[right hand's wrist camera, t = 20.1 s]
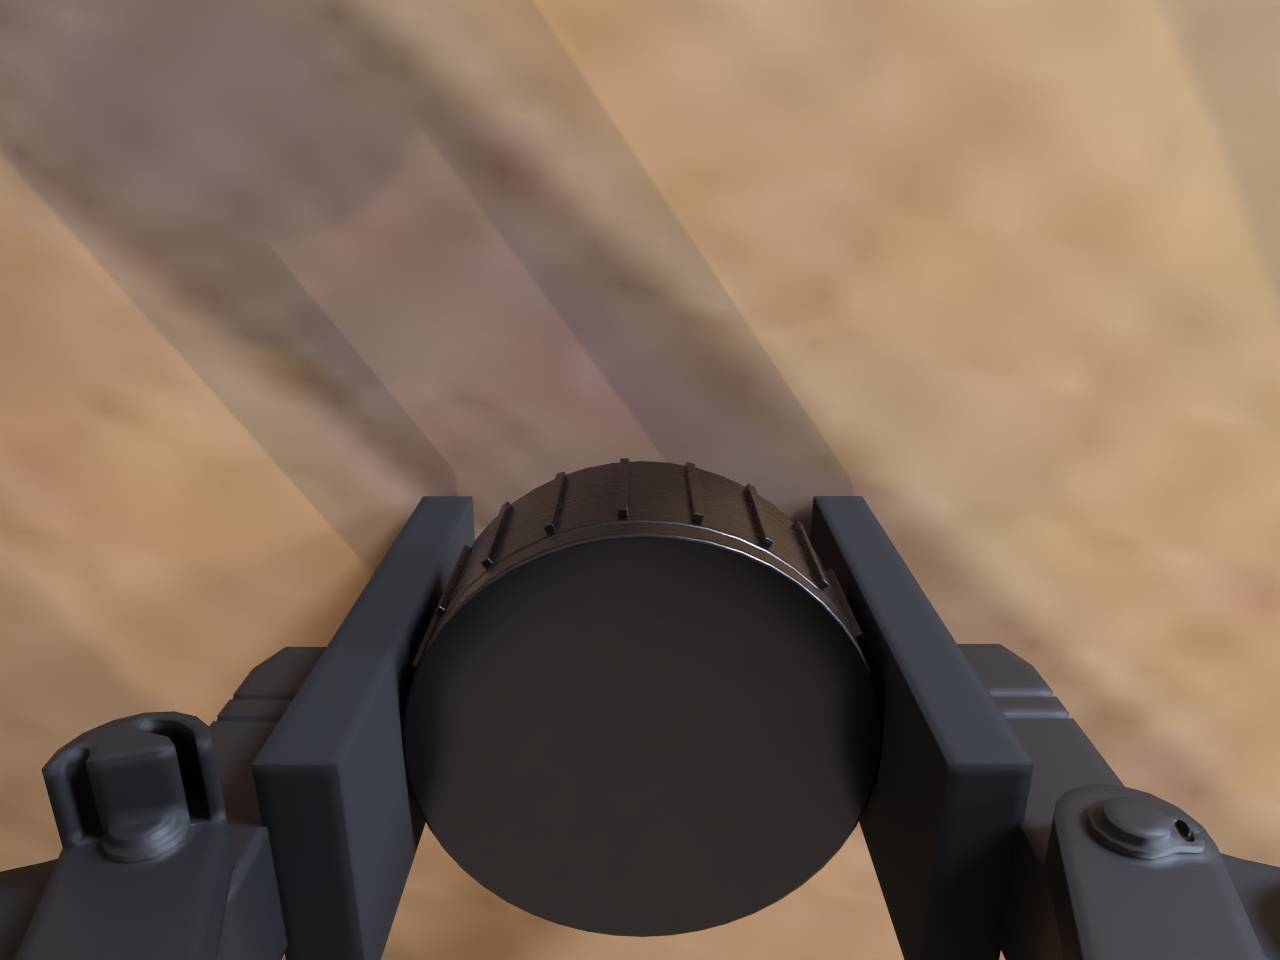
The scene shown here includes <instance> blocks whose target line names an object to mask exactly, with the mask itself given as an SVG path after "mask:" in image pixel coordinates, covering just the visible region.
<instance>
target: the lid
mask: <svg viewBox="0 0 1280 960" xmlns="http://www.w3.org/2000/svg"><path fill="white" fill-rule="evenodd" d="M864 640H865V639H864V637H863V634H862V632H861V630H860V628H859V626H858V624H857V621H856V619H855V617H854V615H853V613H852V611H851V608H850V606H849V604H848V602H847V600H846V598H845V595H844V593H843V591H842V589H841V587H840V585H839V583H838V580H837V578H836V576H835V574H834V572H833V570H832V568H831V569H829V570H825V568H824V566H823V564H822V562H821V560H820V558H819V556H818V555H817V553H816V552H815V550H814V549H813V547H812V545H811V543H810V541H809V538H808V536H807V534H806V532H805V529H804V527H803V525H802V524H801V523H800V522H799V521H797V522H795V523H793V522H792V521H791V520H790V519H789V518H788V517H787V516H785V515H784V514H783V513H782V512H781V511H780V510H778V509H777V508H776V507H775V506H774V505H772V504H771V503H770V502H769V501H767V500H766V499H764V498H762V497H761V496H759V495H758V494H757V492H756V489H755V487H753V486H751V485H750V484H747V486H746V487H744V486H742V485H740V484H738V483H736V482H734V481H732V480H729V479H727V478H725V477H723V476H720V475H717V474H714V473H711V472H708V471H704V470H701V469H698V468H695V464H692V463H688V462H687V463H686V466H683V465H678V464H672V463H662V462H645V461H638V462H629V459H628V458H626V459H620V463H611V464H606V465H601V466H596V467H591V468H586V469H582V470H579V471H576V472H573V473H570V474H567V475H566V474H565V472H561V473H558V474H556V478H555V479H554V480H552V481H550V482H548V483H546V484H544V485H542V486H540V487H537V488H535V489H534V490H532V491H531V492H529V493H528V494H526V495H524V496H523V497H521V498H520V499H518V500H517V501H515V502H514V503H512V504H510V503H509V502H506V503H505V504H504V505H502V507H501V510H500V512H499V515H498V516H497V517H496V518H495V519H494V520H493V521H492V522H491V523H490V524H489V525H488V526H487V527H486V529H485V530H484V531H483V532H482V533H481V534H480V535H479V537H478V538H477V539H476V540H475V542H474V543H473V545H472V546H471V547H469V546H467V545H465V546H464V548H463V549H462V551H461V553H460V555H459V558H458V560H457V562H456V565H455V567H454V569H453V571H452V574H451V576H450V578H449V581H448V583H447V585H446V587H445V590H444V592H443V594H442V596H441V598H440V600H439V602H438V604H437V607H436V609H435V611H434V614H433V616H432V618H431V620H430V623H429V625H428V627H427V630H426V632H425V634H424V636H423V639H422V641H421V643H420V646H419V648H418V650H417V652H416V655H415V657H414V659H413V662H412V664H411V667H410V672H413V677H412V680H411V684H410V687H409V691H408V694H407V698H406V702H405V710H404V718H403V726H402V728H403V750H404V759H405V765H406V770H407V775H408V780H409V783H410V786H411V789H412V791H413V794H414V797H415V800H416V803H417V806H418V807H419V809H420V811H421V813H422V815H423V817H424V819H425V821H426V823H427V825H428V827H429V828H430V830H431V831H432V833H433V834H434V835H435V837H436V838H437V840H438V841H439V842H440V844H441V845H442V847H443V848H444V849H445V851H446V852H447V853H448V854H449V855H450V856H451V857H452V858H453V859H454V860H455V861H456V862H457V864H458V865H459V866H460V867H461V868H462V869H463V870H464V871H465V872H467V873H468V874H469V875H470V876H471V877H473V878H474V879H475V880H476V881H477V882H479V883H480V884H481V885H482V886H483V887H485V888H486V889H488V890H489V891H491V892H493V893H494V894H496V895H497V896H499V897H500V898H502V899H503V900H505V901H506V902H508V903H510V904H512V905H514V906H516V907H518V908H520V909H522V910H524V911H526V912H528V913H530V914H532V915H535V916H538V917H540V918H543V919H546V920H548V921H551V922H554V923H557V924H560V925H563V926H567V927H571V928H575V929H579V930H583V931H588V932H594V933H601V934H608V935H616V936H637V937H648V936H666V935H676V934H682V933H689V932H695V931H701V930H705V929H708V928H712V927H716V926H720V925H724V924H727V923H730V922H733V921H735V920H738V919H741V918H743V917H746V916H748V915H751V914H754V913H756V912H758V911H760V910H762V909H764V908H765V907H767V906H769V905H771V904H773V903H775V902H777V901H779V900H781V899H782V898H784V897H785V896H787V895H788V894H790V893H791V892H793V891H794V890H796V889H797V888H799V887H800V886H802V885H803V884H804V883H805V882H806V881H808V880H809V879H810V878H811V877H812V876H814V875H815V874H816V873H817V872H818V871H819V870H821V869H822V868H823V867H824V866H825V865H826V864H827V862H828V861H829V860H830V859H831V858H832V857H833V856H834V855H835V854H836V853H837V852H838V851H839V849H840V848H841V847H842V846H843V844H844V843H845V841H846V840H847V838H848V837H849V836H850V834H851V833H852V831H853V830H854V829H855V827H856V825H857V823H858V821H859V819H860V818H861V816H862V814H863V812H864V810H865V808H866V806H867V804H868V801H869V799H870V796H871V793H872V790H873V787H874V784H875V781H876V778H877V773H878V768H879V762H880V757H881V748H882V719H881V711H880V703H879V697H878V694H877V690H876V687H875V684H874V680H873V677H872V673H871V671H870V668H869V666H868V664H867V662H866V659H865V657H864V655H863V653H862V650H861V648H860V646H859V644H858V643H859V642H862V641H864Z"/></svg>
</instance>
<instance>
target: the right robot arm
mask: <svg viewBox="0 0 1280 960" xmlns="http://www.w3.org/2000/svg"><path fill="white" fill-rule="evenodd" d="M474 542H475V536H474V521H473V506H472V497H423V498H422V499H421V501H420V503H419V504H418V506H417V507H416V509H415V510H414V512H413V514H412V515H411V517H410V518H409V520H408V521H407V523H406V524H405V526H404V528H403V529H402V531H401V532H400V534H399V535H398V537H397V538H396V540H395V542H394V543H393V545H392V546H391V548H390V549H389V551H388V553H387V554H386V556H385V557H384V559H383V560H382V562H381V563H380V565H379V567H378V568H377V570H376V571H375V573H374V574H373V576H372V577H371V579H370V581H369V582H368V584H367V585H366V587H365V588H364V590H363V591H362V593H361V595H360V596H359V598H358V599H357V601H356V602H355V604H354V606H353V607H352V609H351V610H350V612H349V613H348V615H347V616H346V618H345V620H344V621H343V623H342V624H341V626H340V627H339V629H338V630H337V632H336V634H335V635H334V637H333V638H332V640H331V641H330V643H329V645H328V646H327V647H285V648H284V649H282V650H281V651H279V652H278V653H276V654H275V655H273V656H272V657H270V658H269V659H267V660H266V661H264V662H263V663H261V664H260V665H258V666H257V667H255V668H254V669H253V670H252V671H251V672H250V674H249V675H248V676H247V677H246V679H245V680H244V681H243V683H242V684H241V685H240V687H239V688H238V689H237V691H236V692H235V693H234V698H233V700H229V701H228V703H227V704H226V705H225V707H224V708H223V709H222V711H221V712H220V713H219V715H218V716H217V717H218V718H217V721H213V722H212V724H211V725H210V726H207V725H206V724H205V723H204V722H202V721H201V720H200V719H199V718H198V717H196V716H192V715H187V714H183V713H178V712H152V713H142V714H138V715H134V716H130V717H125V718H121V719H117V720H113V721H111V722H108V723H106V724H104V725H101V726H99V727H97V728H94V729H92V730H89V731H87V732H85V733H83V734H81V735H80V736H78V737H77V738H75V739H74V740H72V741H71V742H69V743H68V744H66V745H65V746H63V747H62V748H60V749H59V750H57V752H56V753H55V754H54V755H53V756H52V758H51V759H50V760H49V761H48V762H47V763H46V765H45V766H44V767H43V768H42V773H43V777H44V780H45V784H46V788H47V791H48V795H49V799H50V802H51V806H52V810H53V813H54V817H55V821H56V824H57V828H58V832H59V835H60V839H61V843H62V846H63V849H62V851H61V853H60V856H59V858H58V859H55V860H51V861H48V862H44V863H39V864H35V865H30V866H26V867H21V868H16V869H12V870H7V871H2V872H0V960H282V958H283V955H284V953H285V958H286V960H381V957H382V954H383V950H384V947H385V944H386V941H387V938H388V935H389V932H390V929H391V926H392V923H393V920H394V917H395V914H396V911H397V908H398V905H399V902H400V899H401V896H402V893H403V890H404V887H405V883H406V880H407V877H408V874H409V871H410V868H411V865H412V862H413V859H414V856H415V853H416V850H417V847H418V844H419V841H420V838H421V835H422V832H423V829H424V826H425V823H426V821H425V819H424V817H423V815H422V813H421V811H420V809H419V807H418V806H417V803H416V800H415V797H414V794H413V791H412V789H411V786H410V783H409V780H408V775H407V770H406V765H405V759H404V750H403V728H402V726H403V718H404V710H405V702H406V698H407V694H408V691H409V687H410V684H411V680H412V677H413V672H410V667H411V664H412V662H413V659H414V657H415V655H416V652H417V650H418V648H419V646H420V643H421V641H422V639H423V636H424V634H425V632H426V630H427V627H428V625H429V623H430V620H431V618H432V616H433V614H434V611H435V609H436V607H437V604H438V602H439V600H440V598H441V596H442V594H443V592H444V590H445V587H446V585H447V583H448V581H449V578H450V576H451V574H452V571H453V569H454V567H455V565H456V562H457V560H458V558H459V555H460V553H461V551H462V549H463V548H464V546H465V545H467V546H469V547H471V546H472V545H473V543H474ZM810 543H811V545H812V547H813V549H814V550H815V552H816V553H817V555H818V556H819V558H820V560H821V562H822V564H823V566H824V568H825V570H829V569H831V568H832V570H833V572H834V574H835V576H836V578H837V580H838V583H839V585H840V587H841V589H842V591H843V593H844V595H845V598H846V600H847V602H848V604H849V606H850V608H851V611H852V613H853V615H854V617H855V619H856V621H857V624H858V626H859V628H860V630H861V632H862V634H863V637H864V639H865V640H864V641H862V642H859V643H858V644H859V646H860V648H861V650H862V653H863V655H864V657H865V659H866V662H867V664H868V666H869V668H870V671H871V673H872V677H873V680H874V684H875V687H876V690H877V694H878V697H879V703H880V711H881V719H882V748H881V757H880V762H879V768H878V773H877V778H876V781H875V784H874V787H873V790H872V793H871V796H870V799H869V801H868V804H867V806H866V808H865V810H864V812H863V814H862V816H861V818H860V819H859V822H860V825H861V828H862V831H863V834H864V837H865V841H866V844H867V847H868V850H869V853H870V856H871V859H872V862H873V865H874V868H875V871H876V874H877V877H878V880H879V883H880V886H881V889H882V892H883V896H884V899H885V902H886V905H887V908H888V911H889V914H890V917H891V920H892V923H893V926H894V929H895V932H896V935H897V938H898V941H899V944H900V947H901V951H902V954H903V957H904V960H999V957H1000V951H1002V953H1003V955H1004V957H1005V960H1280V867H1275V866H1271V865H1266V864H1262V863H1257V862H1252V861H1248V860H1243V859H1239V858H1236V857H1232V856H1229V855H1225V854H1222V853H1220V852H1219V849H1218V847H1217V846H1216V844H1215V843H1214V841H1213V840H1212V839H1211V837H1210V836H1209V834H1208V833H1207V832H1206V830H1205V829H1204V827H1203V826H1202V825H1200V824H1199V823H1198V822H1197V821H1195V820H1194V819H1193V818H1191V817H1190V816H1189V815H1188V814H1186V813H1185V812H1184V811H1182V810H1181V809H1180V808H1178V807H1176V806H1174V805H1172V804H1170V803H1168V802H1166V801H1164V800H1162V799H1160V798H1158V797H1156V796H1154V795H1152V794H1150V793H1146V792H1142V791H1138V790H1135V789H1131V788H1127V787H1125V786H1124V785H1123V784H1122V782H1121V781H1120V780H1119V778H1118V777H1117V776H1116V774H1115V773H1114V772H1113V770H1112V769H1111V768H1110V767H1109V765H1108V764H1107V763H1106V761H1105V760H1104V759H1103V757H1102V756H1101V755H1100V753H1099V752H1098V751H1097V749H1096V748H1095V747H1094V745H1093V744H1092V743H1091V742H1090V740H1089V739H1088V738H1087V736H1086V735H1085V734H1084V732H1083V731H1082V730H1081V728H1080V727H1079V726H1078V724H1077V723H1076V722H1075V721H1074V719H1073V718H1069V713H1068V711H1067V710H1066V709H1065V707H1064V706H1063V705H1062V703H1061V702H1060V701H1059V699H1058V698H1057V697H1053V694H1052V693H1053V692H1052V690H1051V689H1050V688H1049V686H1048V685H1047V684H1046V682H1045V681H1044V680H1043V678H1042V677H1041V676H1040V675H1039V673H1038V672H1037V671H1036V669H1035V668H1034V667H1033V666H1032V665H1031V664H1029V663H1028V662H1026V661H1025V660H1023V659H1022V658H1020V657H1019V656H1017V655H1016V654H1014V653H1013V652H1011V651H1010V650H1008V649H1007V648H1005V647H1004V646H1002V645H1001V644H956V642H955V641H954V639H953V637H952V636H951V634H950V633H949V631H948V630H947V628H946V626H945V625H944V623H943V622H942V620H941V619H940V617H939V616H938V614H937V612H936V611H935V609H934V608H933V606H932V605H931V603H930V602H929V600H928V598H927V597H926V595H925V594H924V592H923V591H922V589H921V587H920V586H919V584H918V583H917V581H916V580H915V578H914V577H913V575H912V573H911V572H910V570H909V569H908V567H907V566H906V564H905V562H904V561H903V559H902V558H901V556H900V555H899V553H898V552H897V550H896V548H895V547H894V545H893V544H892V542H891V541H890V539H889V538H888V536H887V534H886V533H885V531H884V530H883V528H882V527H881V525H880V523H879V522H878V520H877V519H876V517H875V516H874V514H873V513H872V511H871V509H870V508H869V506H868V505H867V503H866V502H865V500H864V499H863V497H862V496H848V497H814V499H813V514H812V528H811V542H810Z"/></svg>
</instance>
